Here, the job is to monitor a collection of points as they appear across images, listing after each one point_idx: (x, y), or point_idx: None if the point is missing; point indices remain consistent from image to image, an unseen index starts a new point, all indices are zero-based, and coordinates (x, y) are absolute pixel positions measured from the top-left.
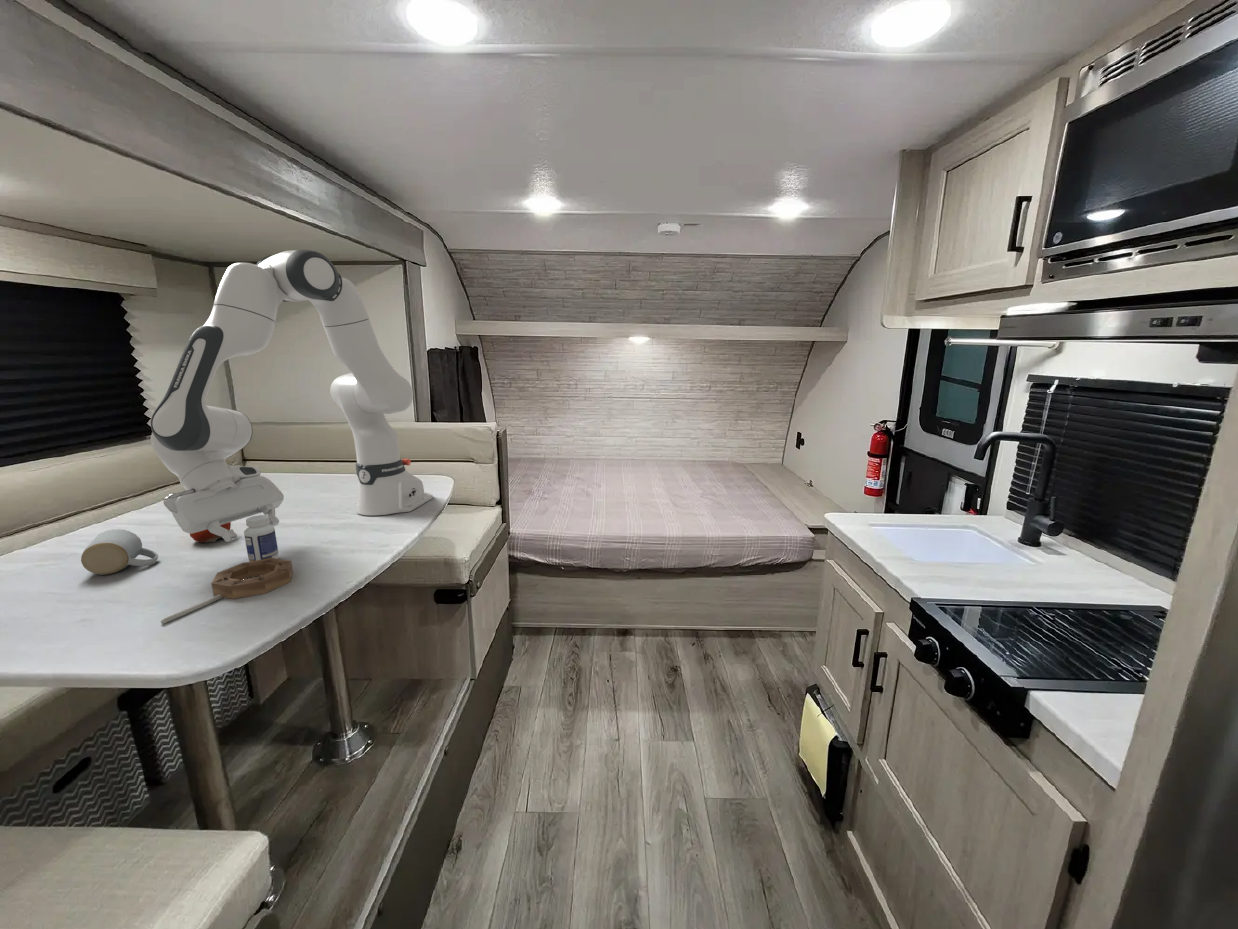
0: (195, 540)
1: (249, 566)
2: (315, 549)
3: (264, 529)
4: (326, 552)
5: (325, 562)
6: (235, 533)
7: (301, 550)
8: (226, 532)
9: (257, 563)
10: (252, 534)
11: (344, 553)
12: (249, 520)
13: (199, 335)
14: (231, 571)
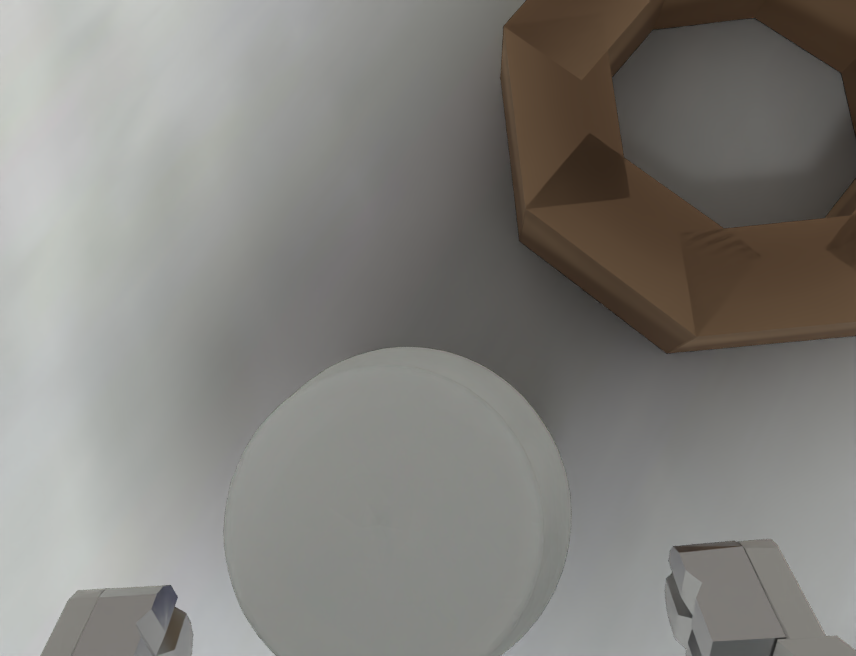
0: None
1: (709, 221)
2: (136, 319)
3: (422, 365)
4: (159, 188)
5: (300, 35)
6: (688, 567)
7: (184, 405)
8: (807, 611)
9: (651, 208)
10: (543, 427)
11: (136, 57)
12: (527, 502)
13: None
14: (846, 236)
